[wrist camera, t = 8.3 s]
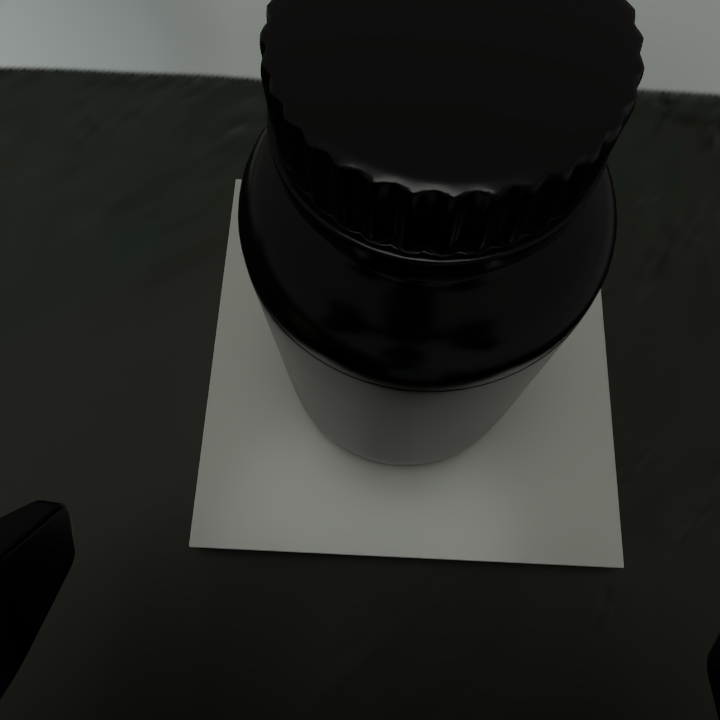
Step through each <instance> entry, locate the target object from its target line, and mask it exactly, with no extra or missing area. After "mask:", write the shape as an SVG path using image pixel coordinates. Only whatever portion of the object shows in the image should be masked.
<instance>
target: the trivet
mask: <svg viewBox="0 0 720 720" xmlns="http://www.w3.org/2000/svg"><path fill="white" fill-rule="evenodd" d="M241 182H242V180H239V179H236V184H235V191H234V199H233V207H232V215H231V223H230V230H229V238H228V246H227V254H226V262H225V269H224V277H223V285H222V293H221V301H220V308H219V316H218V324H217V332H216V340H215V347H214V355H213V363H212V371H211V379H210V386H209V394H208V402H207V410H206V418H205V425H204V433H203V441H202V449H201V457H200V464H199V472H198V480H197V488H196V496H195V503H194V511H193V519H192V527H191V535H190V543H189V547H197V548H216V549H236V550H257V551H278V552H298V553H319V554H339V555H360V556H381V557H401V558H422V559H443V560H463V561H484V562H504V563H525V564H546V565H566V566H587V567H608V568H624V563H623V551H622V539H621V527H620V515H619V503H618V491H617V479H616V467H615V455H614V443H613V431H612V419H611V408H610V396H609V384H608V372H607V360H606V348H605V336H604V324H603V312H602V300H601V289H600V291H599V293H598V294H597V296H596V298H595V300H594V301H593V303H592V305H591V306H590V308H589V309H588V311H587V312H586V314H585V315H584V317H583V318H582V320H581V321H580V322H579V324H578V325H577V326H576V328H575V329H574V330H573V332H572V333H571V334H570V335H569V336H568V338H567V339H566V340H565V341H564V343H563V344H562V345H561V346H560V347H559V349H558V350H557V351H556V352H555V353H554V355H553V356H552V357H551V358H550V359H549V361H548V362H547V363H546V364H545V366H544V367H543V368H542V369H541V370H540V372H539V373H538V374H537V375H536V376H535V378H534V379H533V380H532V381H531V382H530V384H529V385H528V386H527V387H526V388H525V390H524V391H523V392H522V393H521V394H520V396H519V397H518V398H517V399H516V401H515V402H514V403H513V404H512V405H511V407H510V408H509V409H508V410H507V411H506V413H505V414H504V415H503V416H502V417H501V418H500V419H499V421H498V422H497V423H496V424H495V425H494V426H493V427H492V428H491V429H490V430H489V431H488V432H487V433H486V434H485V435H484V436H483V437H482V438H480V439H479V440H478V441H476V442H475V443H474V444H472V445H471V446H469V447H468V448H466V449H464V450H462V451H461V452H459V453H457V454H454V455H452V456H450V457H448V458H445V459H442V460H438V461H435V462H430V463H425V464H417V465H395V464H387V463H381V462H377V461H373V460H370V459H366V458H364V457H361V456H359V455H356V454H354V453H352V452H350V451H348V450H346V449H345V448H343V447H342V446H340V445H339V444H337V443H336V442H334V441H333V440H332V439H331V438H329V437H328V436H327V435H326V434H325V433H324V432H323V431H322V430H321V429H320V428H319V427H318V426H317V425H316V424H315V422H314V421H313V420H312V419H311V418H310V416H309V415H308V413H307V412H306V410H305V409H304V407H303V405H302V403H301V401H300V400H299V398H298V395H297V393H296V391H295V389H294V387H293V384H292V382H291V379H290V377H289V374H288V372H287V370H286V367H285V365H284V362H283V360H282V357H281V355H280V352H279V350H278V347H277V345H276V342H275V340H274V337H273V335H272V332H271V330H270V327H269V325H268V322H267V320H266V317H265V315H264V312H263V310H262V307H261V305H260V302H259V300H258V297H257V295H256V292H255V290H254V287H253V285H252V282H251V280H250V277H249V274H248V271H247V267H246V264H245V260H244V256H243V253H242V249H241V243H240V237H239V229H238V203H239V193H240V187H241Z"/></svg>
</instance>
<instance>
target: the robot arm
mask: <svg viewBox="0 0 720 720" xmlns="http://www.w3.org/2000/svg"><path fill="white" fill-rule="evenodd" d="M74 556H75V543H74V535H73V528H72V521H71V514H70V510H69V508H68V507H67V506H66V505H64V504H62V503H56V502H49V501H43V500H41V501H35V502H32V503H30V504H28V505H26V506H24V507H22V508H20V509H17V510H15V511H13V512H11V513H9V514H7V515H5V516H3V517H1V518H0V699H1V698H2V696H3V695H4V693H5V691H6V690H7V688H8V687H9V685H10V683H11V682H12V680H13V678H14V677H15V675H16V673H17V672H18V670H19V668H20V667H21V665H22V663H23V661H24V659H25V657H26V655H27V653H28V652H29V650H30V648H31V646H32V644H33V642H34V640H35V638H36V636H37V634H38V632H39V630H40V628H41V626H42V624H43V622H44V620H45V618H46V616H47V614H48V612H49V610H50V608H51V606H52V604H53V602H54V600H55V598H56V596H57V594H58V592H59V590H60V588H61V586H62V584H63V582H64V580H65V578H66V576H67V574H68V572H69V570H70V568H71V566H72V563H73V560H74ZM707 671H708V676H709V681H710V685H711V689H712V694H713V698H714V702H715V706H716V711H717V715H718V719H719V720H720V631H719V633H718V635H717V637H716V639H715V641H714V643H713V645H712V647H711V649H710V651H709V654H708V659H707Z"/></svg>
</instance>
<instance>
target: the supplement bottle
mask: <svg viewBox="0 0 720 720" xmlns="http://www.w3.org/2000/svg"><path fill="white" fill-rule="evenodd" d="M266 14H267V15H266V16H267V24H266V25H265V26H264V27H263V29H262V31H261V34H260V49H261V54H262V62H261V78H262V83H263V88H264V93H265V97H266V102H267V118H266V122H267V125H266V126H265V128H264V129H263V130H262V132H261V134H260V136H259V138H258V140H257V141H256V143H255V145H254V147H253V149H252V152H251V154H250V157H249V159H248V162H247V164H246V168H245V171H244V174H243V178H242V182H241V187H240V193H239V203H238V229H239V237H240V243H241V249H242V253H243V256H244V260H245V264H246V267H247V271H248V274H249V277H250V280H251V282H252V285H253V287H254V290H255V292H256V295H257V297H258V300H259V302H260V305H261V307H262V310H263V312H264V315H265V317H266V320H267V322H268V325H269V327H270V330H271V332H272V335H273V337H274V340H275V342H276V345H277V347H278V350H279V352H280V355H281V357H282V360H283V362H284V365H285V367H286V370H287V372H288V374H289V377H290V379H291V382H292V384H293V387H294V389H295V391H296V393H297V395H298V398H299V400H300V401H301V403H302V405H303V407H304V409H305V410H306V412H307V413H308V415H309V416H310V418H311V419H312V420H313V421H314V422H315V424H316V425H317V426H318V427H319V428H320V429H321V430H322V431H323V432H324V433H325V434H326V435H327V436H328V437H329V438H331V439H332V440H333V441H334V442H336V443H337V444H339V445H340V446H342V447H343V448H345V449H346V450H348V451H350V452H352V453H354V454H356V455H359V456H361V457H364V458H366V459H370V460H373V461H377V462H381V463H387V464H395V465H417V464H425V463H430V462H435V461H438V460H442V459H445V458H448V457H450V456H452V455H454V454H457V453H459V452H461V451H462V450H464V449H466V448H468V447H469V446H471V445H472V444H474V443H475V442H476V441H478V440H479V439H480V438H482V437H483V436H484V435H485V434H486V433H487V432H488V431H489V430H490V429H491V428H492V427H493V426H494V425H495V424H496V423H497V422H498V421H499V419H500V418H501V417H502V416H503V415H504V414H505V413H506V411H507V410H508V409H509V408H510V407H511V405H512V404H513V403H514V402H515V401H516V399H517V398H518V397H519V396H520V394H521V393H522V392H523V391H524V390H525V388H526V387H527V386H528V385H529V384H530V382H531V381H532V380H533V379H534V378H535V376H536V375H537V374H538V373H539V372H540V370H541V369H542V368H543V367H544V366H545V364H546V363H547V362H548V361H549V359H550V358H551V357H552V356H553V355H554V353H555V352H556V351H557V350H558V349H559V347H560V346H561V345H562V344H563V343H564V341H565V340H566V339H567V338H568V336H569V335H570V334H571V333H572V332H573V330H574V329H575V328H576V326H577V325H578V324H579V322H580V321H581V320H582V318H583V317H584V315H585V314H586V312H587V311H588V309H589V308H590V306H591V305H592V303H593V301H594V300H595V298H596V296H597V294H598V293H599V291H600V289H601V287H602V285H603V282H604V280H605V278H606V275H607V273H608V270H609V267H610V263H611V260H612V256H613V252H614V246H615V240H616V230H617V210H616V198H615V193H614V187H613V182H612V178H611V174H610V171H609V168H608V164H607V162H608V159H609V155H610V152H611V150H612V148H613V146H614V145H615V143H616V141H617V139H618V137H619V135H620V133H621V131H622V129H623V128H624V126H625V124H626V122H627V121H628V119H629V117H630V115H631V113H632V111H633V109H634V107H635V103H636V99H637V87H638V85H639V83H640V81H641V79H642V76H643V72H644V65H643V61H642V58H641V56H640V51H641V47H642V43H643V36H642V35H641V33H640V31H639V30H638V29H637V27H636V26H635V24H634V22H635V9H634V8H633V7H632V6H631V5H630V4H629V3H628V2H627V1H626V0H271V2H270V3H269V4H268V5H267V12H266Z"/></svg>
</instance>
